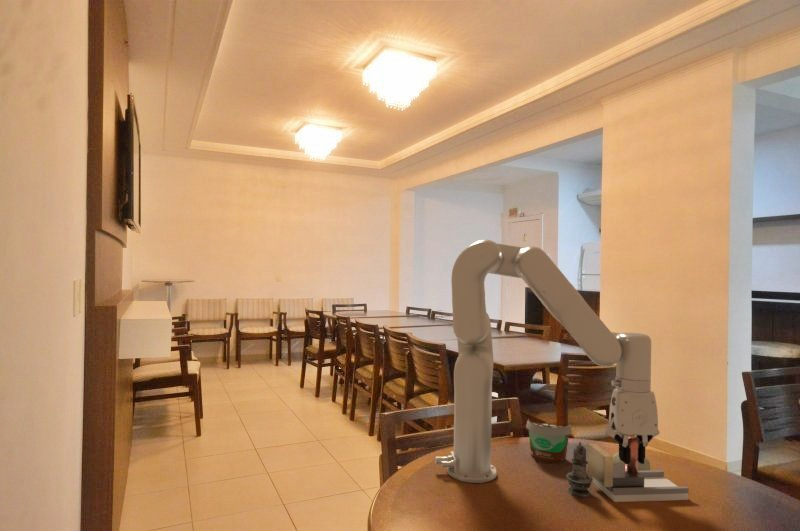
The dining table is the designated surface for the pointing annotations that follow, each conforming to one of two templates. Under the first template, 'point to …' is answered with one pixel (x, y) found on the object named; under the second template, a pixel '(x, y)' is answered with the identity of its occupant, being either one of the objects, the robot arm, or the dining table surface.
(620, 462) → the sea urchin shell
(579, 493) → the grey figurine
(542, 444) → the food container
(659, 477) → the press bed
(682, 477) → the dining table surface
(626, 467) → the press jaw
